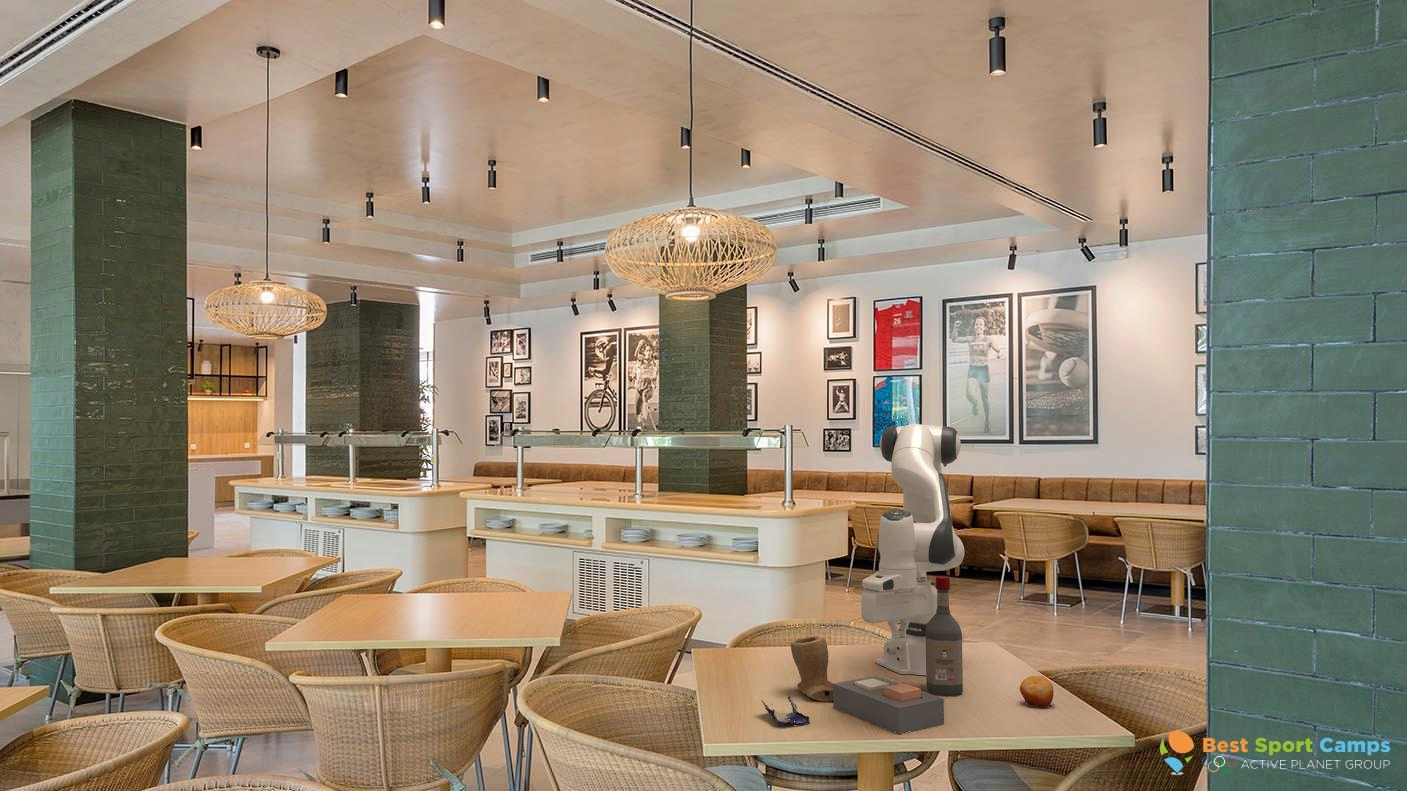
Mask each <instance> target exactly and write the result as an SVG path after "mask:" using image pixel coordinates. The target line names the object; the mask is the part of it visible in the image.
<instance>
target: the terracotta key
mask: <svg viewBox="0 0 1407 791" xmlns="http://www.w3.org/2000/svg"><path fill="white" fill-rule="evenodd" d="M921 691H922V690H921V688H919V687H916V686H913V685H910V684H907V683H904V682H903V683H899V684H896V685H891V686H886V687H884V696H885V697H888V698H891V699H894V700H896V701H899V702H906V701H911V700H915V699H920V698H921Z"/></svg>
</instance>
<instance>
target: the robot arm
mask: <svg viewBox="0 0 1407 791" xmlns="http://www.w3.org/2000/svg"><path fill="white" fill-rule="evenodd" d="M961 446H962V445H961V439H960V436H959V433H958V430H956V429H955V428H954V427H951V426H947V425H943V426H940V425H935V424H934V425H931V424H920V423H910V424H906V425H901V426H899V425H891V426H888V427H886V428H884V429H883V431H882V433H881V436H880V439H879V449H880V453H881V456H882V457H883V459H884V460H885V461H886V462H890V463H891V467H890V468H891V477H892V478H893V481H894V482H895V483H896V485H898V486H899V487H900V488H901V489H902V490H903V494H902V495H903V499H902V500H903V502H902V503H903V505H902V506H903V507H902V508H903V510H889V511H886V512H884V513H882V514H881V516H880V520H879V529H878V533H877V551H878V552H879V558H880V560H879V563H878V570H877V571H876V572H875V573H873V574H871V575H869V576H867V577H865V578H863V580H862V582H861V584H862V589H864V590H863V592H862V594H861V600H860V601H861V604H860V614H861V618H862V620H863V621H864V622H866V623H870V624H878V623H883V622H887V625H888V627H889V628H890V631H891V637H890V638H889V639H887V640H886V641H885V642H884V645H883V652H882V655H881V656H879V657H876V658H875V660H874V662H875V663H876V664H878V665H880V666H882V667H885V668H886V669H888V670H891V671H893V672H895V673H897V674H900V675H917V676H918V675H919V676H926V625H927V623H928V622H929V621H930V620H931V618H932V617H933V616H934V615H935V614H936V610H937V589H936V586H935V585H933V584H932V582H931V580H930V579H929V578H927V572H928V573H929V572H939V571H947V570H948V571H949V570H950V569H954V568H957V567H958V566H960V565H961V564H962V562H963V560H964V557H965V546H964V543H963V542H962V540H961V538H960V537H959V536H958V535H957V533H956V531H955V528H954V525H953V520H952V513H951V512H952V511H951V510H952V509H951V505H950V497H949V491H948V486H947V481H946V478H945V476H944V474H943V470H942V465H943V467H944V468H945V467H947V466H948V465H949V464H952V463H953V462H955V461H956V460H957V459H958V456H959V454H960V452H961ZM941 464H942V465H941ZM897 625H899V627H898V626H897Z"/></svg>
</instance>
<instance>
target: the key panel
mask: <svg viewBox="0 0 1407 791" xmlns="http://www.w3.org/2000/svg"><path fill="white" fill-rule="evenodd" d="M872 678H874V679H876V680H879V681H882V682H885V683H888V684H889V686H891V685H896V684H900V683H899V682H893V680H891V681H890V679H888V678H884V677H882V676H878V675H874V676H873V675H872V676H867V677H861V678H856V679H850V680H845V681H841V682H839V681H838V682H835V683H833V701H832V702H833V703H832V704H833V705H832V706H833V707H832V708H833V709H836V710H838V711H840V712H843V713H845V714H847V715H850V716H852V717H855V718H857V719H860V720H863V721H865V722H867V723H870V724H873V725H875V726H877V727H880V728H883V729H884V730H887V731H889V730H890V732H893V733H894V732H896V733H895V734H897V733H898V735H899V734H900V735H903V734H902V733H904V734H907V733H906V732H908V733H910V732H909V731H913V732H917V731H920V730H921V731H922V730H925V729H929V728H934V727H939V726H943V725H945V700H944V698H943V697H940V696H939V695H933V694H930V693H928V692H926V691H922V690H921V698H920V699H915V700H911V701H906V702H899V701H896V700H894V699H891V698H888V697H885V696H884V689H878V690H873V691H869V690H866V689H863V688H860V687H858V686H855V682H856V681H862V680H867V679H872ZM887 679H888V680H887ZM916 730H917V731H916Z"/></svg>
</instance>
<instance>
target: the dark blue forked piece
mask: <svg viewBox="0 0 1407 791" xmlns="http://www.w3.org/2000/svg"><path fill="white" fill-rule="evenodd" d="M787 700H788V702H789V703H790V705H791V708H792V712H788V713H781V712H778V711H777V710H775V709H771V708H769V706H768V705H766V703H765V701H764V700H763V699H760V701H761V703H762V704H763V706H764V708H765V711H767V714H769V715H770V717H771V719H773V721H776V722H777V724H778V725H779V726H782V725H786V724H791V725H792V726H793V725H801V726H805V725H808V724H810V723H811V722H810V717H809V716H808V715H804V714H803V713H801V712H799V711H798V706H797V704H796V703H795V700H794V699H793V698H792V696H791V695H789V696H787ZM771 705H774V704H773V703H771ZM778 715H782V716H783V715H784V716H785V717H784V718H785V720H781V719H779V718H778V717H779V716H778ZM778 719H779V720H778ZM786 719H790V721H789V720H787V721H788V722H787V721H786ZM794 721H795V722H794Z"/></svg>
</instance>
